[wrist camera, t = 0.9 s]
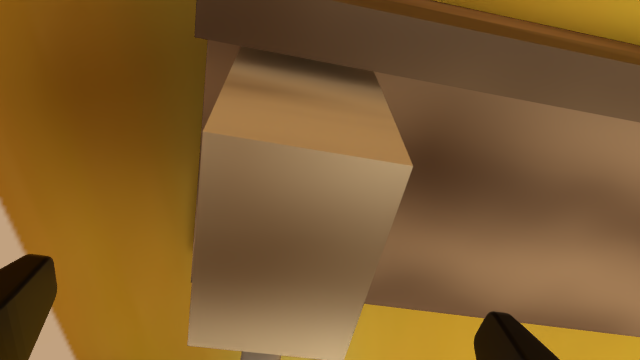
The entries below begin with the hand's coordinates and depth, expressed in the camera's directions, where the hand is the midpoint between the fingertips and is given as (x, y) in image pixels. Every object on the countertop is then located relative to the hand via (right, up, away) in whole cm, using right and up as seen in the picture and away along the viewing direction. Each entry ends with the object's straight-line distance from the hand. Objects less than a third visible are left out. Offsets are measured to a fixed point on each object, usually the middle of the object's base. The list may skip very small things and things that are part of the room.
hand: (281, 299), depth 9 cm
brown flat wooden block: (+8, +3, +9) cm, 13 cm away
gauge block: (0, +2, +7) cm, 7 cm away
